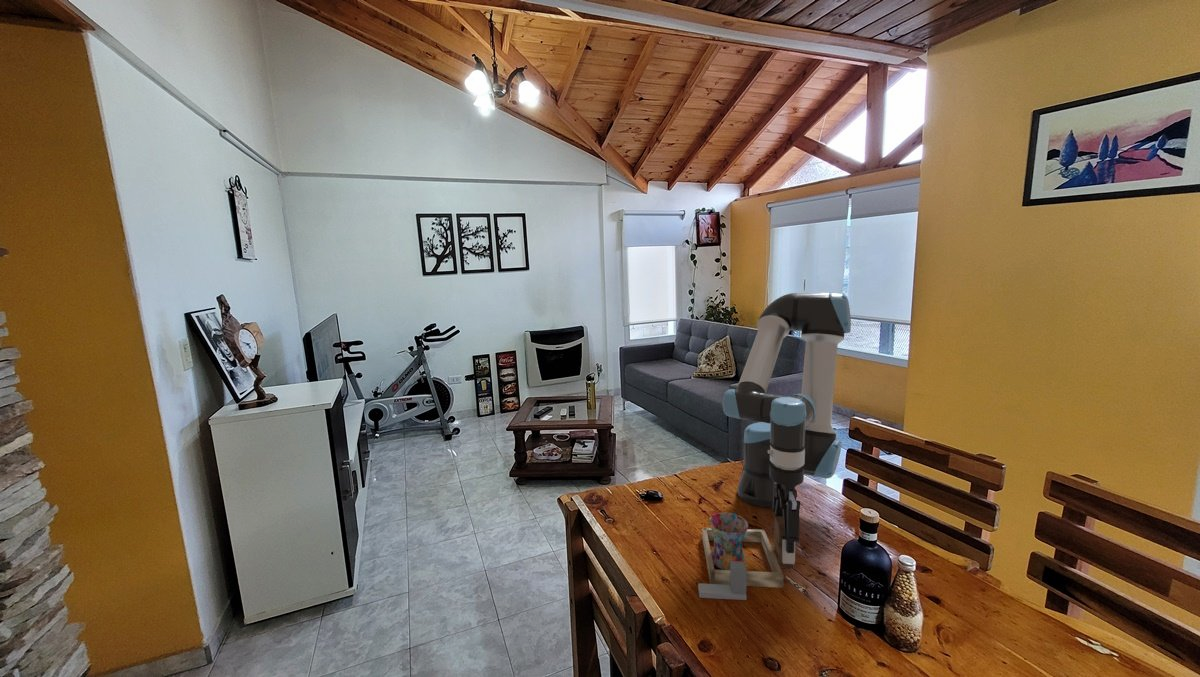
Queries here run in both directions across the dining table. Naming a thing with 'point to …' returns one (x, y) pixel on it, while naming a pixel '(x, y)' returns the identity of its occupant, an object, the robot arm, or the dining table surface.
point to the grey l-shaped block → (728, 591)
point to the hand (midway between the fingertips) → (784, 553)
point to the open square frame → (752, 576)
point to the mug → (727, 539)
